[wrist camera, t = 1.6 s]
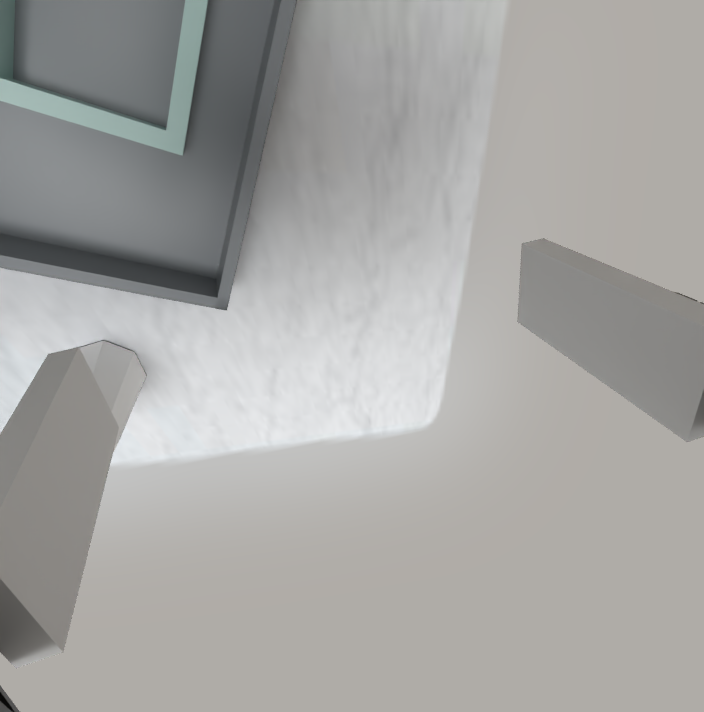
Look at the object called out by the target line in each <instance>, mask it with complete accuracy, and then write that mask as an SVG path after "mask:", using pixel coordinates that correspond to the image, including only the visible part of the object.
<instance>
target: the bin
mask: <svg viewBox="0 0 704 712" xmlns="http://www.w3.org/2000/svg"><path fill="white" fill-rule="evenodd" d="M296 1H297V0H0V268H5V269H10V270H15V271H20V272H26V273H31V274H36V275H42V276H47V277H52V278H58V279H63V280H68V281H73V282H79V283H84V284H89V285H95V286H100V287H105V288H110V289H116V290H121V291H126V292H132V293H137V294H142V295H148V296H153V297H158V298H163V299H169V300H174V301H179V302H185V303H190V304H195V305H201V306H206V307H211V308H216V309H222V310H227V307H228V303H229V299H230V294H231V290H232V285H233V281H234V276H235V272H236V267H237V263H238V259H239V254H240V250H241V245H242V241H243V236H244V232H245V227H246V223H247V219H248V214H249V210H250V205H251V201H252V196H253V192H254V187H255V183H256V179H257V174H258V170H259V165H260V161H261V156H262V152H263V147H264V143H265V139H266V134H267V130H268V125H269V121H270V116H271V112H272V107H273V103H274V99H275V94H276V90H277V85H278V81H279V76H280V72H281V67H282V63H283V59H284V54H285V50H286V45H287V41H288V36H289V32H290V27H291V23H292V19H293V14H294V10H295V5H296Z"/></svg>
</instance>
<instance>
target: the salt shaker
mask: <svg viewBox="0 0 704 712" xmlns="http://www.w3.org/2000/svg"><path fill="white" fill-rule="evenodd" d="M80 350H81V352H82V354H83V356H84V358H85V360H86V362H87V364H88V366H89V368H90V370H91V372H92V374H93V376H94V378H95V380H96V382H97V384H98V386H99V388H100V390H101V392H102V394H103V396H104V398H105V400H106V402H107V404H108V406H109V408H110V410H111V412H112V414H113V416H114V418H115V420H116V422H117V424H118V426H119V430H118V434H117V438H116V442H115V446H114V450H115V448H116V446H117V444H118V442H119V440H120V437H121V435H122V433H123V430H124V428H125V425H126V423H127V421H128V418H129V416H130V414H131V411H132V409H133V407H134V404H135V402H136V399H137V397H138V395H139V392H140V390H141V388H142V385H143V383H144V380H145V378H146V374H145V372H144V370H143V368H142V366H141V364H140V362H139V360H138V358H137V356H136V354H135V352H133V351H130V350H128V349H125V348H122V347H120V346H117V345H114V344H112V343H109V342H106V341H100V342H97V343H94V344H90V345H87V346H83V347H80ZM114 450H113V452H114Z"/></svg>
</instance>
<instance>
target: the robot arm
mask: <svg viewBox="0 0 704 712" xmlns="http://www.w3.org/2000/svg"><path fill="white" fill-rule="evenodd" d="M518 323H520V324H521V325H523V326H524V327H526V328H527V329H528V330H530V331H531V332H532V333H534V334H536V335H537V336H538V337H540V338H541V339H542V340H544V341H545V342H547V343H548V344H549V345H551V346H552V347H554V348H555V349H556V350H558V351H559V352H561V353H562V354H563V355H565V356H567V357H568V358H569V359H570V360H572V361H574V362H575V363H576V364H578V365H579V366H580V367H582V368H583V369H585V370H586V371H587V372H589V373H590V374H592V375H593V376H595V377H596V378H597V379H599V380H600V381H602V382H603V383H604V384H606V385H607V386H609V387H610V388H611V389H613V390H614V391H616V392H617V393H619V394H620V395H621V396H623V397H624V398H626V399H627V400H628V401H630V402H631V403H633V404H634V405H635V406H637V407H638V408H640V409H641V410H643V411H644V412H645V413H647V414H648V415H649V416H651V417H652V418H654V419H655V420H657V421H658V422H659V423H661V424H662V425H664V426H665V427H666V428H668V429H670V430H671V431H672V432H673V433H675V434H676V435H678V436H679V437H681V438H682V439H683V440H685V441H686V442H689V441H692V440H695V439H698V438H701V437H704V303H701V302H700V303H699V302H697V300H694V299H692V298H689V297H687V296H685V295H682V294H680V293H676V292H672V291H670V290H667V289H665V288H663V287H660V286H658V285H655V284H653V283H651V282H648V281H646V280H643V279H641V278H638V277H636V276H633V275H631V274H629V273H626V272H624V271H621V270H619V269H616V268H614V267H612V266H609V265H607V264H604V263H602V262H600V261H597V260H595V259H592V258H590V257H587V256H585V255H582V254H580V253H578V252H575V251H573V250H570V249H568V248H565V247H563V246H561V245H558V244H556V243H553V242H551V241H548V240H546V239H544V238H543V239H539V240H535V241H530V242H526V243H522V250H521V268H520V285H519V304H518ZM118 430H119V426H118V424H117V422H116V420H115V418H114V416H113V414H112V412H111V410H110V408H109V406H108V404H107V402H106V400H105V398H104V396H103V394H102V392H101V390H100V388H99V386H98V384H97V382H96V380H95V378H94V376H93V374H92V372H91V370H90V368H89V366H88V364H87V362H86V360H85V358H84V356H83V354H82V352H81V350H80V348H79V347H77V348H73V349H68V350H64V351H60V352H55V353H51V354H48V355H47V357H46V359H45V360H44V362H43V364H42V365H41V367H40V369H39V370H38V372H37V374H36V375H35V377H34V379H33V381H32V382H31V384H30V386H29V387H28V389H27V391H26V392H25V394H24V396H23V397H22V399H21V401H20V402H19V404H18V406H17V407H16V409H15V411H14V412H13V414H12V416H11V417H10V419H9V421H8V422H7V424H6V426H5V427H4V429H3V431H2V432H1V434H0V652H1V653H2V654H3V655H4V656H5V657H6V658H7V659H8V661H10V663H11V664H12V665H13V666H14V667H15V668H19V667H21V666H24V665H28V664H30V663H33V662H36V661H39V660H42V659H45V658H48V657H51V656H54V655H57V654H60V653H63V651H64V647H65V643H66V639H67V635H68V631H69V627H70V622H71V619H72V615H73V611H74V607H75V603H76V599H77V595H78V591H79V587H80V583H81V578H82V575H83V571H84V567H85V563H86V559H87V555H88V550H89V547H90V543H91V539H92V534H93V531H94V526H95V523H96V518H97V514H98V510H99V506H100V502H101V498H102V494H103V490H104V486H105V482H106V478H107V474H108V470H109V466H110V462H111V458H112V454H113V450H114V446H115V442H116V438H117V434H118ZM0 712H19V710H18V709H17V708H16V706H15V705H14V703H13V702H12V701H11V699H10V698H9V697H8V695H7V694H6V693H5V692H4V690H3V689H2V687H1V686H0Z"/></svg>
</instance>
